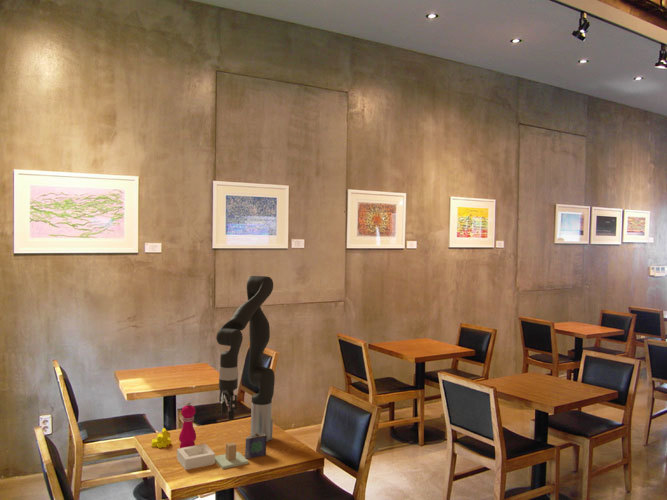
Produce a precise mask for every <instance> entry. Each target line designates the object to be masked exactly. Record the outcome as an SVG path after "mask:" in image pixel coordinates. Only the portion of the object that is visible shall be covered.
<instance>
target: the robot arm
mask: <svg viewBox="0 0 667 500" xmlns="http://www.w3.org/2000/svg"><path fill="white" fill-rule="evenodd" d="M246 281H247V282H246V294H247V295H246V296H247V301H245V302H244V303H243V304H241V305H240V306H239V307H238V308H237V309H236V310H235V312H234V313H233V315H232V317H231V318H230V319H229V320H228V321H227V322H226V323H224V324H223V325H222V326H221V327H220V328H219V330H218V331H217V333H216V338H215V339H216V343H218V344H219V345H220V346H227V347H230V348H229V350H224V351H222V352H221V353H220V359H219V372H218V373H219V377H218V389H219V394H218V395H219V396H218V397H219V399H218V400H219V402H220V405H221V407H220V409H221V411H220V412H221V415H225V414H227V412H228V415H227V420H229V421H233V420H234V419H235V411H237V409H238V406H237V405H238V404H237V403H238V398H237V397H238V395H237V394H235V392H234V391H235V390H237V389H238V384H239V383H238V382H239V381H238V380H239V367H238V361H239V360H238V359H239V357H238V356H239V353H240V350H241V347H242V343H243V339H244V338H243V333H242V331H243V330H245V328H246V327H247V325H248V328H249V330H248V331H249V332H248V333H249V334H248V335H249V363H248V381H249V384H250V385H252V386H253V387H257V388H259V390H258V393H255V394H253V395H252V396H251V403H250V404H251V406H250V408H251V410H250V412H251V413H250V436H253V435H254V432H255V431H257V433H258V434H265V435H266V436H267V437H266V443H268V442H270V441H272V440H273V434H274V433H273V429H274V428H273V426H274V419H273V418H272V403H273V402H272V401H273V397H274V392H275V377H276V375H275V372H274V370H273V368H269V367H266V366H263V355H264V354H263V353H264V351H265V349H266V347H267V346H268V343H269V341H270V339H271V338H270V337H271V335H270V334H271V330H270V323H269V319H268V318H267V316H266V315H265V313H264V311H263V309H262V308H261V306H262V305H263V304H264V302H265V301H266V300H267V299H268V298H269V297H270V296H271V294H272V292H273V290H274V281H273V279H272V277H271V276H267V275H266V276H265V275H263V276H262V275H250V276H249V277H248V279H247V280H246Z"/></svg>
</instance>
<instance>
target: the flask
mask: <svg viewBox="0 0 667 500" xmlns="http://www.w3.org/2000/svg"><path fill="white" fill-rule="evenodd" d="M266 437H267V436H266V435H265V434H258V433H257V431H255V432H254V435H253V436H246V437H245V447H244V448H245V449H244V451H245V452H244V453H245V454H244V457H245V458H246V459H247V460H250V459H254V458H258V457H265V456H266V454H267V442H266Z"/></svg>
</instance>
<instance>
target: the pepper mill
mask: <svg viewBox="0 0 667 500" xmlns="http://www.w3.org/2000/svg"><path fill="white" fill-rule="evenodd" d="M191 404H192V403H191V401H187V402H186V404H185V405H184V406H183V407H182V408H181V411H180V414H181V415H182V418H181V419H182V429H181V431H180V433H179V435H178V441H179V442H180V444H179V448H184V447H190V446H195V445H196V443H195V441H196V440H197V433H196V430H195V428H194V421H195V415H196V408H195V406H193V405H191Z"/></svg>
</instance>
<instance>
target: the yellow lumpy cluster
mask: <svg viewBox="0 0 667 500" xmlns="http://www.w3.org/2000/svg"><path fill="white" fill-rule="evenodd" d="M169 444H171V445H172V439H171V433H170V432H169V431H168V430H167V429H166V428H165V427H163V428H162V429H161V433H157V435H156V438H152V440H151V448H155V447H158V448H157V449H161V448H162V447H163V448H167V446H170V445H169Z"/></svg>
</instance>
